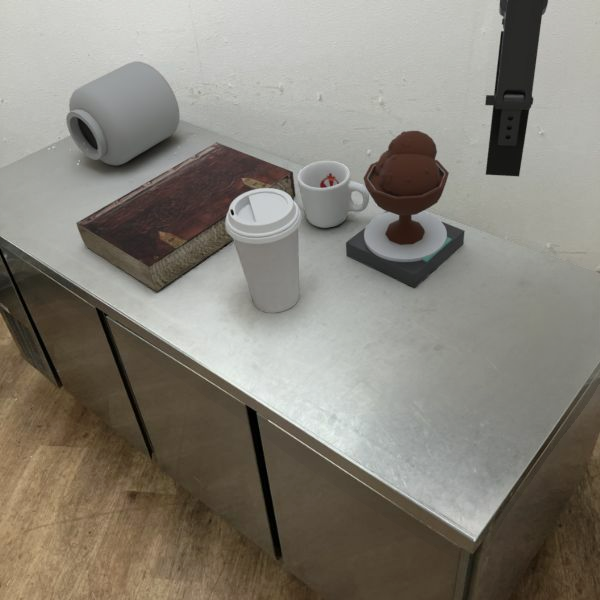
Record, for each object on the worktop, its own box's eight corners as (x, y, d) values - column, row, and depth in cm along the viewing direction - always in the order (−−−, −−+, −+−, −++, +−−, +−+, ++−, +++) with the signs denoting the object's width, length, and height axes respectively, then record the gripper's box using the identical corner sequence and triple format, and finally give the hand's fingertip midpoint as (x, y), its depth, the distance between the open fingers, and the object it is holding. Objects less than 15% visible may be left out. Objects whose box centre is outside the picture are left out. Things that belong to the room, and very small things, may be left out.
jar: (205, 128, 117) (76, 168, 103) (181, 167, 129) (63, 207, 116) (154, 40, 118) (20, 68, 104) (136, 87, 130) (13, 117, 117)
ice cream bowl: (364, 213, 96) (360, 120, 86) (440, 209, 95) (446, 114, 85) (366, 258, 88) (363, 162, 78) (449, 254, 87) (457, 156, 77)
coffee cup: (250, 272, 93) (232, 184, 83) (315, 274, 91) (305, 184, 81) (234, 319, 86) (213, 229, 76) (305, 322, 85) (292, 230, 74)
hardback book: (220, 164, 116) (215, 139, 113) (296, 198, 106) (292, 171, 103) (84, 246, 102) (74, 220, 99) (157, 293, 92) (148, 266, 88)
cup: (376, 209, 102) (375, 164, 96) (362, 239, 96) (360, 194, 91) (311, 201, 105) (307, 157, 100) (294, 230, 100) (289, 185, 94)
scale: (463, 243, 93) (465, 227, 91) (414, 288, 87) (415, 271, 85) (396, 215, 100) (396, 199, 98) (346, 255, 94) (345, 239, 92)
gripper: (493, -171, 54) (472, 73, 69) (472, -97, 37) (450, 208, 51) (589, -178, 53) (547, 75, 67) (614, -104, 35) (550, 215, 50)
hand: (505, 133), depth 59 cm, fingers open, 13 cm apart
